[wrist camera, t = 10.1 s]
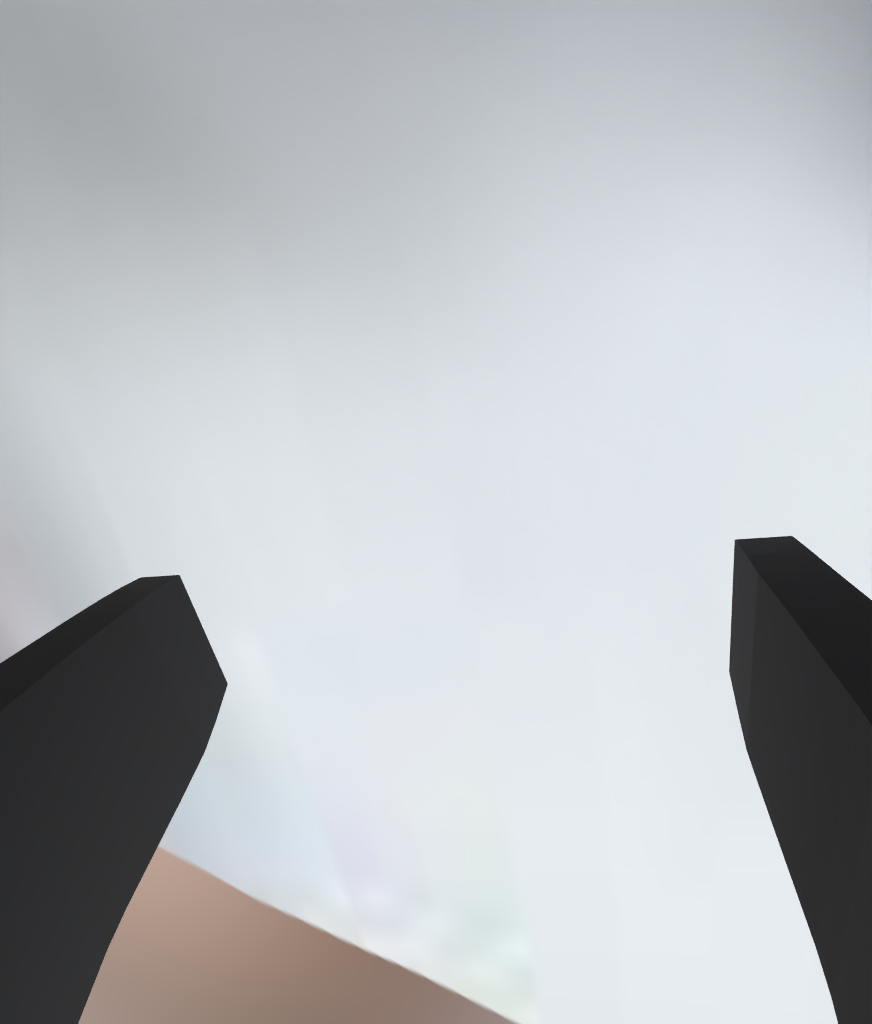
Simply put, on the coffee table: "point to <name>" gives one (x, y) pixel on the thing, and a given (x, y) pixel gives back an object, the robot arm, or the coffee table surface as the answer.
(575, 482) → the coffee table surface
